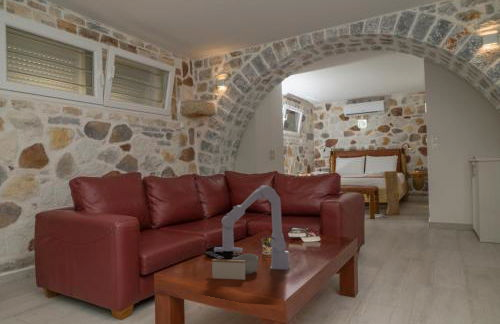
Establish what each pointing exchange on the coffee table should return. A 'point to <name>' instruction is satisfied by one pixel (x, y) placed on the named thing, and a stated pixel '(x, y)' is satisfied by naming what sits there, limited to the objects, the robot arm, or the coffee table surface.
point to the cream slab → (228, 269)
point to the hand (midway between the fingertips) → (228, 265)
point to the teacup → (249, 262)
